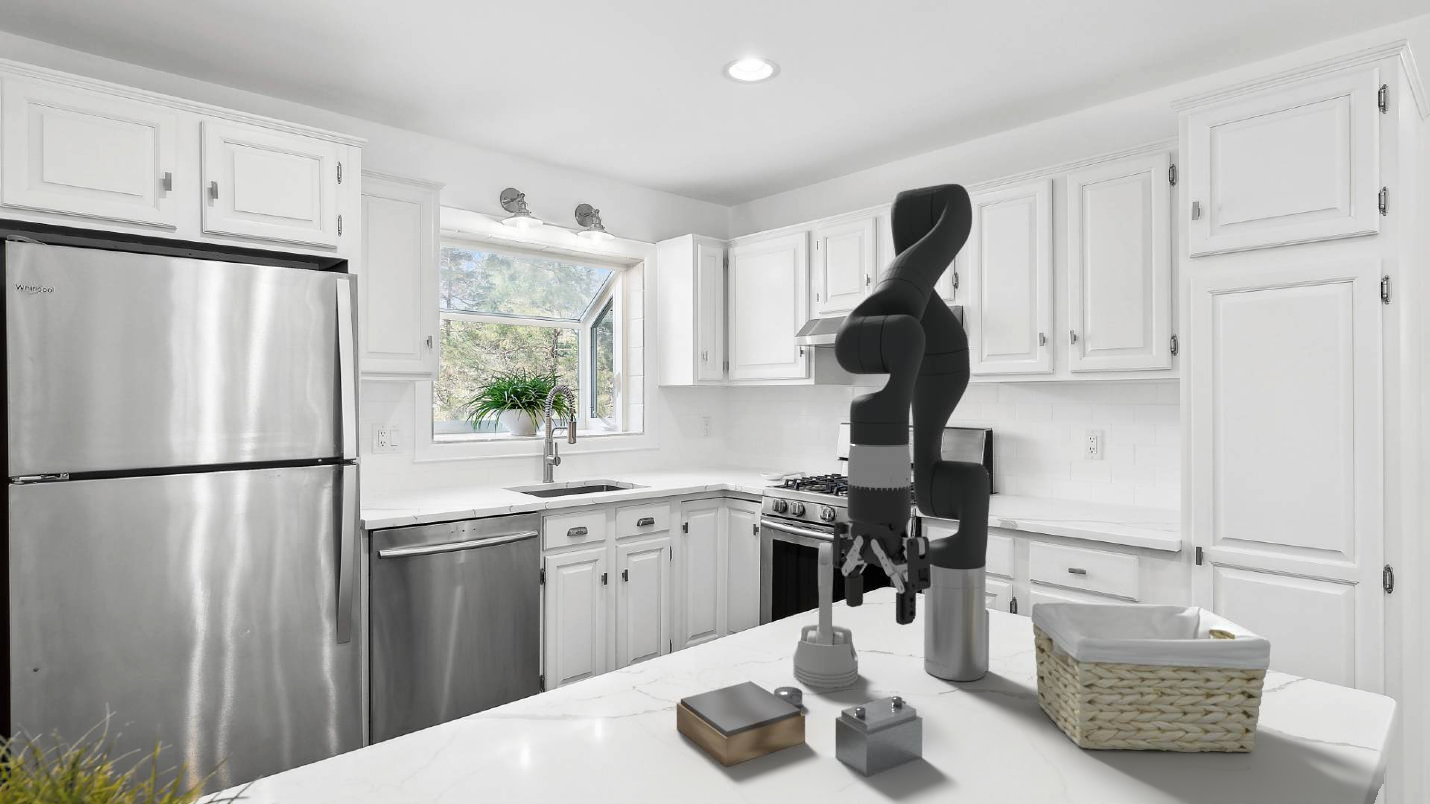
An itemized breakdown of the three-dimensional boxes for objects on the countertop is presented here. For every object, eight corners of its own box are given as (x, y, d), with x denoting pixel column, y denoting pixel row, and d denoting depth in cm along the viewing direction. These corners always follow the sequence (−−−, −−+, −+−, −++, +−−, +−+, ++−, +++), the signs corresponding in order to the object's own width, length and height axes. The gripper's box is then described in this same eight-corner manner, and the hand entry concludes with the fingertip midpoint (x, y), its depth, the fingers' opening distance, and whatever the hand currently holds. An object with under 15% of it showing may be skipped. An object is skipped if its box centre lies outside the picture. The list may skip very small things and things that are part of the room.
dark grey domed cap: (790, 698, 111) (790, 684, 111) (808, 708, 108) (808, 693, 108) (768, 704, 109) (768, 690, 109) (785, 714, 106) (785, 700, 106)
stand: (751, 707, 107) (751, 679, 107) (805, 741, 97) (805, 710, 97) (676, 728, 101) (676, 698, 101) (726, 767, 91) (726, 733, 91)
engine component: (789, 685, 116) (857, 690, 114) (790, 550, 115) (857, 553, 113) (796, 659, 126) (858, 663, 124) (796, 536, 126) (858, 538, 124)
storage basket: (1196, 704, 108) (1197, 601, 108) (1276, 761, 92) (1278, 640, 92) (1025, 703, 109) (1026, 600, 109) (1075, 759, 93) (1076, 638, 93)
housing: (890, 740, 98) (890, 688, 98) (922, 758, 93) (922, 703, 93) (835, 758, 93) (835, 703, 93) (866, 778, 89) (866, 720, 88)
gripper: (946, 485, 88) (945, 624, 89) (861, 473, 100) (861, 596, 101) (900, 490, 84) (899, 636, 85) (817, 477, 96) (816, 604, 97)
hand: (878, 614), depth 93 cm, fingers open, 8 cm apart
